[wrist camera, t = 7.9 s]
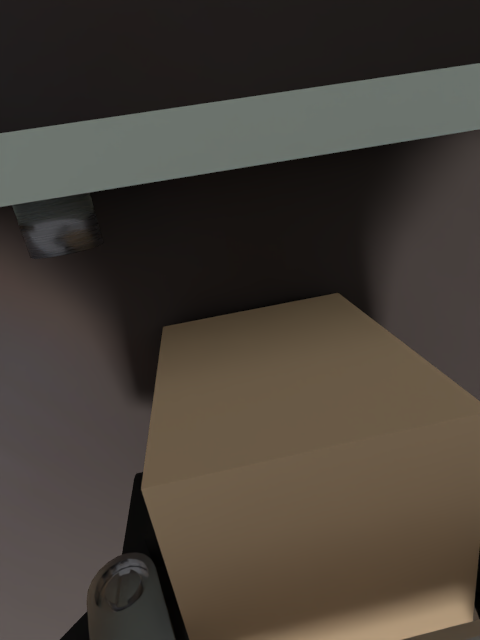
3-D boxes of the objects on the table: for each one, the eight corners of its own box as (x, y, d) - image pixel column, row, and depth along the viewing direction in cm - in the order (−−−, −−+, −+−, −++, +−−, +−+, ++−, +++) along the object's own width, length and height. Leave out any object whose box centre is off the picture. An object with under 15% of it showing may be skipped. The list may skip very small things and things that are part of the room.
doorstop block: (338, 292, 11) (492, 411, 6) (352, 504, 14) (463, 721, 8) (162, 326, 11) (141, 488, 5) (214, 536, 14) (236, 785, 8)
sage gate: (568, 71, 10) (752, 23, 7) (557, 155, 11) (720, 146, 8) (-45, 164, 9) (-174, 159, 6) (-11, 252, 10) (-109, 291, 6)
